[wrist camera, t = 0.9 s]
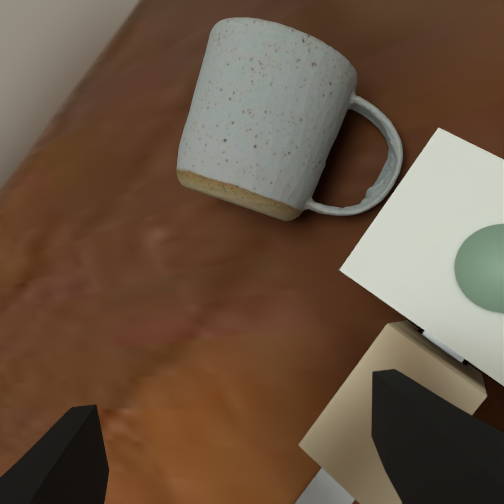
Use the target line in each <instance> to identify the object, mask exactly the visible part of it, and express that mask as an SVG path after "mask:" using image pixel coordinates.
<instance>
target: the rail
mask: <svg viewBox="0 0 504 504" xmlns="http://www.w3.org/2000/svg"><path fill="white" fill-rule="evenodd" d="M422 335H423V336H425V337H426V338H427V339H429V340H430V341H432V342H433V343H434V344H436V345H437V346H439V347H440V348H441V349H443V350H444V351H446V352H447V353H448V354H450V355H451V356H453V357H454V358H455V359H457V360H458V361H460V362H461V363H462V361H463V360H464V358H463V357H462V356H460V355H459V354H457V353H456V352H455V351H453V350H452V349H450V348H449V347H447V346H446V345H445V344H443V343H442V342H440V341H439V340H438V339H436V338H435V337H433V336H432V335H430V334H429V333H428V332H426V331H424V332H423V333H422ZM354 500H355V499H354V498H353V497H352V496H351V495H350V494H349V493H348V492H347V491H346V490H345V489H344V488H343V487H342V486H341V485H340V484H339V483H337V482H336V481H335V480H334V479H333V478H332V477H331V476H330V475H329V474H328V473H327V472H326V471H325V470H324V469H323V468H321V469H320V471H319V472H318V473H317V475H316V476H315V477H314V479H313V480H312V481H311V483H310V484H309V485H308V487H307V488H306V489H305V491H304V492H303V493H302V495H301V496H300V497H299V499H298V500H297V501H296V503H295V504H352V503H353V502H354Z"/></svg>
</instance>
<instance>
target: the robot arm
mask: <svg viewBox="0 0 504 504" xmlns="http://www.w3.org/2000/svg"><path fill="white" fill-rule="evenodd" d="M371 436H372V439H373V442H374V444H375V447H376V449H377V452H378V455H379V457H380V460H381V462H382V465H383V467H384V469H385V472H386V474H387V476H388V477H389V479H390V481H391V483H392V485H393V487H394V489H395V490H396V492H397V494H398V496H399V498H400V500H401V502H402V503H403V504H504V432H502V431H500V430H498V429H496V428H494V427H492V426H491V425H489V424H487V423H485V422H483V421H481V420H479V419H477V418H476V417H474V416H472V415H470V414H469V413H467V412H465V411H463V410H462V409H460V408H458V407H456V406H455V405H453V404H451V403H450V402H448V401H446V400H445V399H443V398H442V397H440V396H438V395H437V394H435V393H433V392H432V391H430V390H429V389H427V388H425V387H424V386H422V385H421V384H419V383H417V382H416V381H414V380H413V379H411V378H409V377H408V376H406V375H404V374H403V373H401V372H399V371H397V370H396V369H389V370H381V371H373V372H372V426H371ZM108 475H109V467H108V462H107V457H106V452H105V447H104V441H103V436H102V431H101V426H100V421H99V416H98V411H97V405H87V406H79V407H72V408H71V409H69V410H68V411H67V412H66V413H65V414H64V415H63V416H62V417H61V418H60V419H59V420H58V421H57V422H56V423H55V424H54V425H53V426H52V427H51V428H50V430H49V431H48V432H47V433H46V434H45V435H44V436H43V437H42V438H41V439H40V440H39V441H38V442H37V443H36V444H35V445H34V446H33V447H32V448H31V449H30V450H29V451H28V452H27V453H26V454H25V455H24V456H23V457H22V458H21V459H20V460H19V461H18V462H17V463H16V464H14V465H13V466H12V467H11V468H10V469H9V470H8V471H7V472H6V473H5V474H4V475H2V476H1V477H0V504H104V501H105V495H106V489H107V482H108Z"/></svg>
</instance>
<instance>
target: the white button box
mask: <svg viewBox="0 0 504 504" xmlns="http://www.w3.org/2000/svg"><path fill="white" fill-rule="evenodd" d="M340 271H341V272H343V273H344V274H346V275H347V276H348V277H350V278H351V279H353V280H354V281H356V282H357V283H358V284H360V285H361V286H363V287H364V288H365V289H367V290H368V291H370V292H371V293H372V294H374V295H375V296H377V297H378V298H380V299H381V300H382V301H384V302H385V303H387V304H388V305H389V306H391V307H392V308H394V309H395V310H397V311H398V312H399V313H401V314H402V315H404V316H405V317H406V318H408V319H409V320H411V321H412V322H414V323H415V324H416V325H418V326H419V327H421V328H422V329H423V330H425V331H426V332H428V333H429V334H430V335H432V336H433V337H435V338H436V339H438V340H439V341H440V342H442V343H443V344H445V345H446V346H447V347H449V348H450V349H452V350H453V351H455V352H456V353H457V354H459V355H460V356H462V357H463V358H464V359H466V360H467V361H469V362H470V363H472V364H473V365H474V366H476V367H477V368H479V369H480V370H481V371H483V372H484V373H486V374H487V375H488V376H490V377H491V378H493V379H494V380H496V381H497V382H498V383H500V384H501V385H503V386H504V160H503V159H501V158H499V157H497V156H495V155H493V154H491V153H489V152H487V151H485V150H483V149H481V148H479V147H477V146H475V145H473V144H471V143H469V142H467V141H465V140H463V139H461V138H459V137H457V136H454V135H452V134H450V133H448V132H446V131H444V130H442V129H440V128H438V129H437V131H436V132H435V133H434V135H433V136H432V138H431V139H430V141H429V142H428V144H427V145H426V146H425V148H424V149H423V151H422V152H421V154H420V155H419V156H418V158H417V159H416V161H415V162H414V164H413V165H412V166H411V168H410V169H409V171H408V172H407V174H406V175H405V177H404V178H403V179H402V181H401V182H400V184H399V185H398V187H397V188H396V189H395V191H394V192H393V194H392V195H391V197H390V198H389V200H388V201H387V202H386V204H385V205H384V207H383V208H382V210H381V211H380V212H379V214H378V215H377V217H376V218H375V220H374V221H373V222H372V224H371V225H370V227H369V228H368V230H367V231H366V233H365V234H364V235H363V237H362V238H361V240H360V241H359V243H358V244H357V245H356V247H355V248H354V250H353V251H352V253H351V254H350V256H349V257H348V258H347V260H346V261H345V263H344V264H343V266H342V267H341V268H340Z"/></svg>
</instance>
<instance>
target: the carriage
mask: <svg viewBox="0 0 504 504" xmlns="http://www.w3.org/2000/svg"><path fill="white" fill-rule="evenodd" d="M418 330H419V328H417V327H416V326H414V325H413V324H412V323H410V322H409V321H407V320H404V321H399V322H394V323H388V324H387V325H386V326H385V327H384V329H383V330H382V331H381V333H380V334H379V336H378V337H377V338H376V340H375V341H374V342H373V344H372V345H371V346H370V348H369V349H368V351H367V352H366V353H365V355H364V356H363V357H362V359H361V360H360V362H359V363H358V364H357V366H356V367H355V368H354V370H353V371H352V372H351V374H350V375H349V377H348V378H347V379H346V381H345V382H344V383H343V385H342V386H341V387H340V389H339V390H338V392H337V393H336V394H335V396H334V397H333V398H332V400H331V401H330V402H329V404H328V405H327V407H326V408H325V409H324V411H323V412H322V413H321V415H320V416H319V417H318V419H317V420H316V422H315V423H314V424H313V426H312V427H311V428H310V430H309V431H308V433H307V434H306V435H305V437H304V438H303V439H302V441H301V442H300V443H299V445H298V446H300V447H301V448H302V449H303V450H304V451H305V452H306V453H307V454H308V455H309V456H310V457H311V458H312V459H313V460H314V461H315V462H316V463H317V464H319V465H320V466H321V467H322V468H323V469H324V470H325V471H326V472H327V473H328V474H329V475H330V476H331V477H332V478H333V479H334V480H335V481H336V482H337V483H339V484H340V485H341V486H342V487H343V488H344V489H345V490H346V491H347V492H348V493H349V494H350V495H351V496H352V497H353V498H354V499H355V500H356V501H357V502H359V503H360V504H401V503H402V502H401V500H400V498H399V496H398V494H397V492H396V490H395V489H394V487H393V485H392V483H391V481H390V479H389V477H388V476H387V474H386V472H385V469H384V467H383V465H382V462H381V460H380V457H379V455H378V452H377V449H376V447H375V444H374V442H373V439H372V436H371V426H372V372H373V371H381V370H389V369H396V370H397V371H399V372H401V373H403V374H404V375H406V376H408V377H409V378H411V379H413V380H414V381H416V382H417V383H419V384H421V385H422V386H424V387H425V388H427V389H429V390H430V391H432V392H433V393H435V394H437V395H438V396H440V397H442V398H443V399H445V400H446V401H448V402H450V403H451V404H453V405H455V406H456V407H458V408H460V409H462V410H463V411H465V412H467V413H469V414H470V415H473V413H474V412H475V411H476V410H477V408H478V407H479V406H480V405H481V403H482V402H483V401H484V400H485V398H486V397H487V394H486V389H485V385H484V380H483V376H482V373H481V372H479V371H478V370H476V369H475V368H474V367H472V366H471V365H469V364H467V365H466V366H465V365H464V364H462V363H461V362H460V361H458V360H457V359H455V358H454V357H453V356H451V355H450V354H448V353H447V352H446V351H444V350H443V349H441V348H440V347H439V346H437V345H436V344H434V343H433V342H432V341H430V340H429V339H427V338H426V337H425V336H423V335H422V334H420V333H419V332H418Z"/></svg>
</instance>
